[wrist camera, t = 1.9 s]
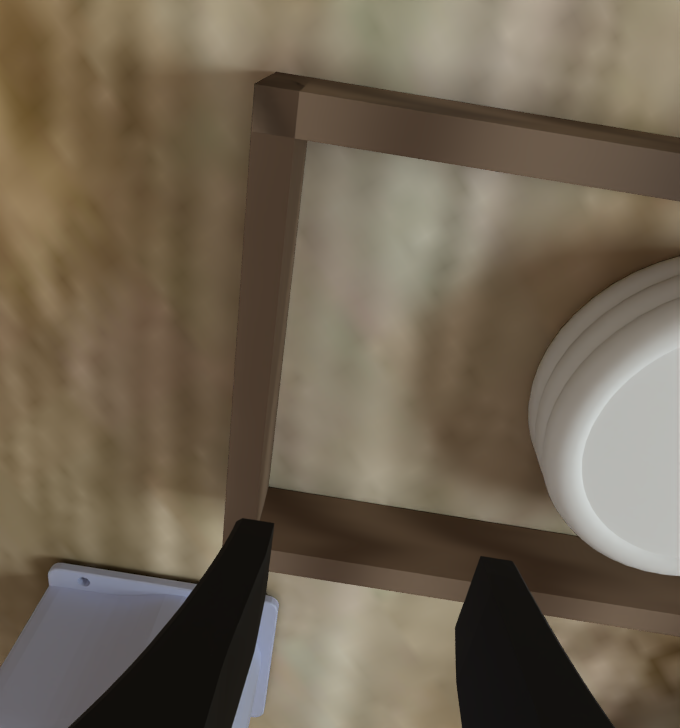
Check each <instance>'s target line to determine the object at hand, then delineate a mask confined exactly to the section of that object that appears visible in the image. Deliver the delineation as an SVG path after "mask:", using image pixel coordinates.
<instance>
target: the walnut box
mask: <svg viewBox="0 0 680 728" xmlns="http://www.w3.org/2000/svg"><path fill="white" fill-rule="evenodd" d="M307 141H314V142H320V143H326V144H332V145H338V146H344V147H350V148H357V149H363V150H369V151H375V152H381V153H387V154H393V155H399V156H406V157H412V158H418V159H424V160H430V161H436V162H442V163H448V164H455V165H461V166H467V167H473V168H479V169H485V170H491V171H497V172H504V173H510V174H516V175H522V176H528V177H534V178H540V179H546V180H553V181H559V182H565V183H571V184H577V185H583V186H589V187H596V188H602V189H608V190H614V191H620V192H626V193H632V194H638V195H645V196H651V197H657V198H663V199H669V200H675V201H680V138H677V137H671V136H664V135H658V134H652V133H646V132H640V131H634V130H628V129H622V128H616V127H609V126H603V125H597V124H591V123H585V122H579V121H573V120H567V119H561V118H555V117H548V116H542V115H536V114H530V113H524V112H518V111H512V110H506V109H500V108H494V107H487V106H481V105H475V104H469V103H463V102H457V101H451V100H445V99H439V98H432V97H426V96H420V95H414V94H408V93H402V92H396V91H390V90H384V89H378V88H371V87H365V86H359V85H353V84H347V83H341V82H335V81H329V80H323V79H316V78H310V77H304V76H298V75H292V74H286V73H280V72H275V73H274V74H272V75H270V76H268V77H266V78H264V79H263V80H261V81H259V82H257V83H255V84H254V98H253V112H252V127H251V141H250V156H249V170H248V185H247V199H246V213H245V228H244V242H243V257H242V271H241V285H240V300H239V314H238V329H237V343H236V358H235V372H234V386H233V401H232V415H231V430H230V444H229V458H228V473H227V487H226V502H225V516H224V531H223V545H224V543H225V542H226V540H227V538H228V537H229V535H230V533H231V531H232V529H233V527H234V525H235V523H236V521H238V520H240V519H242V518H246V519H252V520H259V521H265V522H271V523H275V524H274V532H273V540H272V548H271V556H270V564H269V571H270V572H276V573H282V574H289V575H295V576H301V577H307V578H314V579H320V580H326V581H333V582H339V583H345V584H352V585H358V586H364V587H370V588H377V589H383V590H389V591H396V592H402V593H408V594H415V595H421V596H427V597H433V598H440V599H446V600H452V601H459V602H464V601H465V598H466V595H467V592H468V590H469V587H470V584H471V581H472V578H473V576H474V573H475V570H476V567H477V564H478V561H479V559H480V556H485V557H491V558H497V559H504V560H510V561H513V562H514V564H515V565H516V567H517V568H518V570H519V572H520V574H521V576H522V578H523V579H524V581H525V583H526V585H527V587H528V589H529V590H530V592H531V594H532V596H533V598H534V599H535V601H536V603H537V605H538V607H539V608H540V610H541V612H542V614H543V615H547V616H553V617H559V618H566V619H572V620H578V621H585V622H591V623H597V624H603V625H610V626H616V627H622V628H629V629H635V630H641V631H648V632H654V633H660V634H666V635H673V636H679V637H680V576H673V575H663V574H658V573H652V572H647V571H643V570H639V569H636V568H633V567H629V566H626V565H624V564H622V563H619V562H617V561H615V560H612V559H610V558H608V557H607V556H605V555H603V554H601V553H600V552H598V551H596V550H595V549H593V548H592V547H591V546H590V545H588V544H587V543H586V542H584V541H583V540H582V539H581V538H580V537H577V536H571V535H565V534H558V533H552V532H546V531H540V530H533V529H527V528H521V527H515V526H508V525H502V524H496V523H490V522H483V521H477V520H471V519H464V518H458V517H452V516H446V515H439V514H433V513H427V512H421V511H414V510H408V509H402V508H396V507H389V506H383V505H377V504H371V503H364V502H358V501H352V500H345V499H339V498H333V497H327V496H320V495H314V494H308V493H302V492H295V491H289V490H283V489H277V488H270V487H268V486H269V477H270V468H271V459H272V450H273V442H274V433H275V424H276V415H277V406H278V397H279V388H280V379H281V370H282V361H283V352H284V344H285V335H286V326H287V317H288V308H289V299H290V290H291V281H292V272H293V263H294V254H295V245H296V237H297V228H298V219H299V210H300V201H301V192H302V183H303V174H304V165H305V156H306V147H307ZM223 545H222V547H223Z"/></svg>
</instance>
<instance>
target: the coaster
mask: <svg viewBox="0 0 680 728" xmlns="http://www.w3.org/2000/svg"><path fill="white" fill-rule="evenodd" d="M528 424H529V431H530V437H531V441H532V444H533V447H534V450H535V453H536V454H537V459H538V462H539V465H540V469H541V472H542V474H543V476H544V481H545V484H546V487H547V490H548V494H549V497H550V498H551V500H552V502H553V504H554V506H555V508H556V510H557V511H558V513H559V514H560V515H561V517H562V518H563V519H564V521H565V522H566V523H567V525H568V526H569V527H570V528H571V529H572V530H573V531H574V532H575V533H576V534H577V535H578V536H579V537H580V538H581V539H582V540H583V541H584V542H586V543H587V544H588V545H590V546H591V547H592V548H593V549H595V550H596V551H598V552H600V553H601V554H603V555H605V556H607V557H608V558H610V559H612V560H615V561H617V562H619V563H622V564H624V565H626V566H629V567H633V568H636V569H639V570H643V571H647V572H652V573H658V574H663V575H673V576H680V256H679V257H675V258H672V259H669V260H665V261H662V262H658V263H656V264H653V265H651V266H648V267H646V268H644V269H641V270H639V271H636V272H634V273H632V274H630V275H629V276H627V277H625V278H623V279H621V280H620V281H618V282H616V283H614V284H612V285H611V286H610V287H608V288H607V289H605V290H604V291H602V292H601V293H600V294H598V295H597V296H595V297H594V298H592V299H591V300H590V301H589V302H588V303H587V304H586V305H584V306H583V307H582V308H581V309H580V310H579V311H578V312H576V313H575V314H574V315H573V317H572V318H571V319H570V320H569V321H568V322H567V323H566V324H565V325H564V326H563V327H562V329H561V330H560V331H559V332H558V334H557V335H556V337H555V338H554V340H553V341H552V343H551V344H550V345H549V347H548V349H547V351H546V352H545V354H544V356H543V358H542V360H541V362H540V364H539V366H538V369H537V372H536V375H535V378H534V381H533V384H532V389H531V394H530V400H529V405H528Z"/></svg>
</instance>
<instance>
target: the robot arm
mask: <svg viewBox="0 0 680 728" xmlns="http://www.w3.org/2000/svg"><path fill="white" fill-rule="evenodd" d="M274 524H275V523H271V522H265V521H259V520H252V519H246V518H242V519H240V520H238V521H236V523H235V525H234V527H233V529H232V531H231V533H230V535H229V537H228V538H227V540H226V542H225V543H224V545H223V547H222V548H221V550H220V552H219V553H218V555H217V556H216V558H215V559H214V561H213V562H212V564H211V565H210V567H209V568H208V570H207V571H206V573H205V574H204V576H203V577H202V578H201V580H200V581H199V582H198V584H193V583H187V582H181V581H174V580H168V579H162V578H155V577H149V576H143V575H136V574H130V573H124V572H117V571H111V570H105V569H99V568H92V567H86V566H80V565H73V564H67V563H56V564H54V565H53V566H52V567H51V568H50V570H49V572H48V581H49V587H48V588H47V590H46V592H45V593H44V595H43V597H42V598H41V600H40V602H39V603H38V605H37V607H36V609H35V610H34V612H33V614H32V615H31V617H30V619H29V620H28V622H27V624H26V625H25V627H24V629H23V630H22V632H21V634H20V635H19V637H18V639H17V640H16V642H15V644H14V645H13V647H12V649H11V650H10V652H9V654H8V656H7V657H6V659H5V661H4V662H3V664H2V666H1V667H0V728H248V727H249V722H250V717H259V716H261V715H262V714H263V712H264V708H265V701H266V694H267V687H268V680H269V672H270V665H271V658H272V651H273V644H274V637H275V630H276V622H277V615H278V608H279V603H278V601H277V600H276V599H275V598H273V597H272V596H268V595H266V589H267V581H268V572H269V564H270V556H271V548H272V540H273V532H274ZM455 650H456V683H457V691H458V699H459V707H460V714H461V722H462V728H615V727H614V726H613V724H612V723H611V721H610V720H609V719H608V717H607V716H606V714H605V713H604V711H603V710H602V708H601V707H600V705H599V704H598V702H597V701H596V700H595V698H594V697H593V695H592V694H591V692H590V691H589V689H588V687H587V686H586V684H585V683H584V681H583V680H582V678H581V677H580V675H579V673H578V672H577V670H576V669H575V667H574V665H573V664H572V662H571V661H570V659H569V657H568V656H567V654H566V653H565V651H564V649H563V648H562V646H561V644H560V643H559V641H558V639H557V638H556V636H555V634H554V633H553V631H552V629H551V628H550V626H549V624H548V622H547V621H546V619H545V617H544V615H543V614H542V612H541V610H540V608H539V607H538V605H537V603H536V601H535V599H534V598H533V596H532V594H531V592H530V590H529V589H528V587H527V585H526V583H525V581H524V579H523V578H522V576H521V574H520V572H519V570H518V568H517V567H516V565H515V564H514V562H513V561H510V560H504V559H497V558H491V557H485V556H480V559H479V561H478V564H477V567H476V570H475V573H474V576H473V578H472V581H471V584H470V587H469V590H468V592H467V595H466V598H465V601H464V604H463V607H462V609H461V612H460V615H459V618H458V621H457V624H456V626H455Z"/></svg>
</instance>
